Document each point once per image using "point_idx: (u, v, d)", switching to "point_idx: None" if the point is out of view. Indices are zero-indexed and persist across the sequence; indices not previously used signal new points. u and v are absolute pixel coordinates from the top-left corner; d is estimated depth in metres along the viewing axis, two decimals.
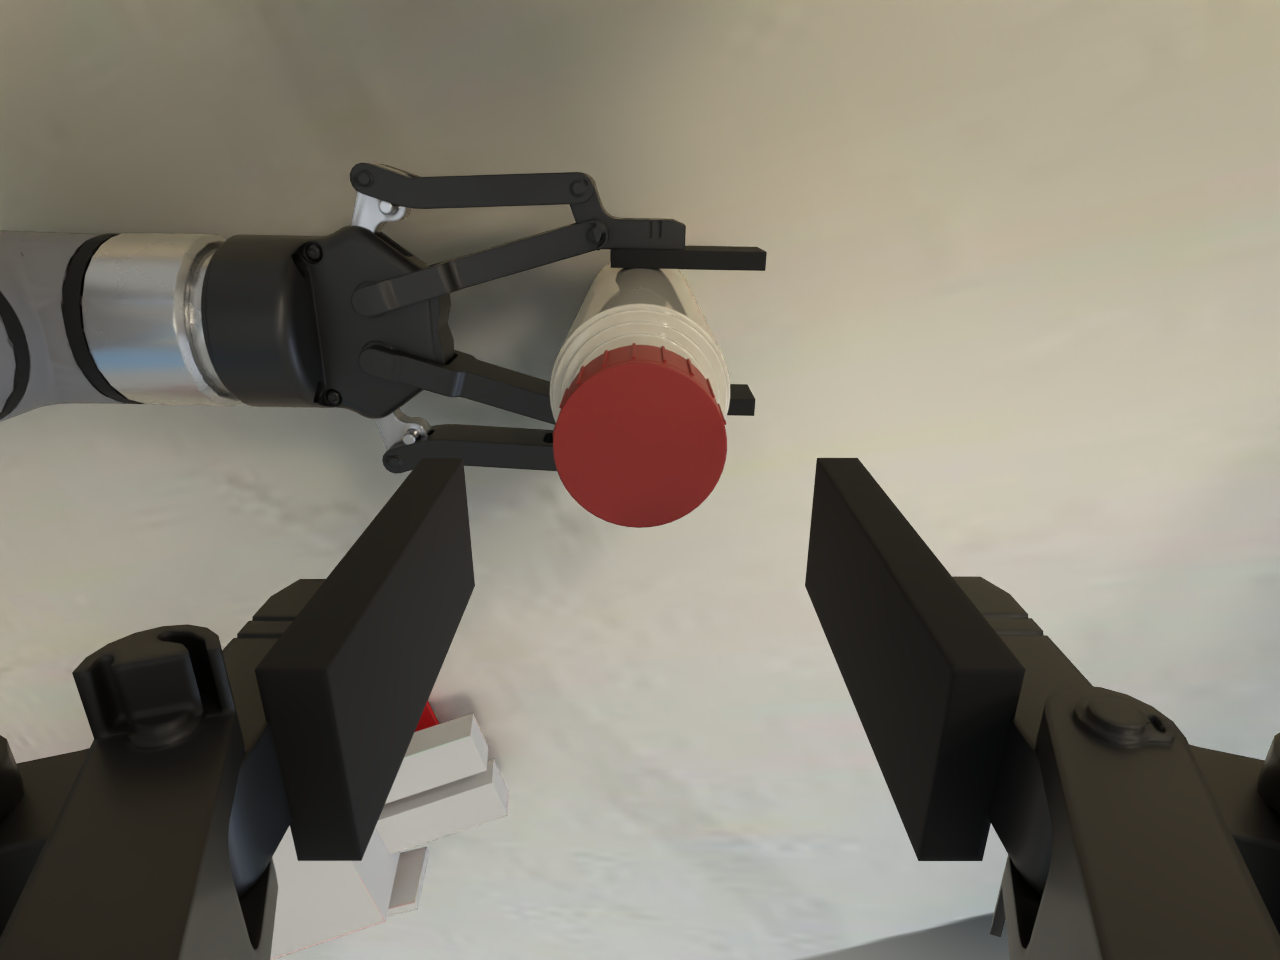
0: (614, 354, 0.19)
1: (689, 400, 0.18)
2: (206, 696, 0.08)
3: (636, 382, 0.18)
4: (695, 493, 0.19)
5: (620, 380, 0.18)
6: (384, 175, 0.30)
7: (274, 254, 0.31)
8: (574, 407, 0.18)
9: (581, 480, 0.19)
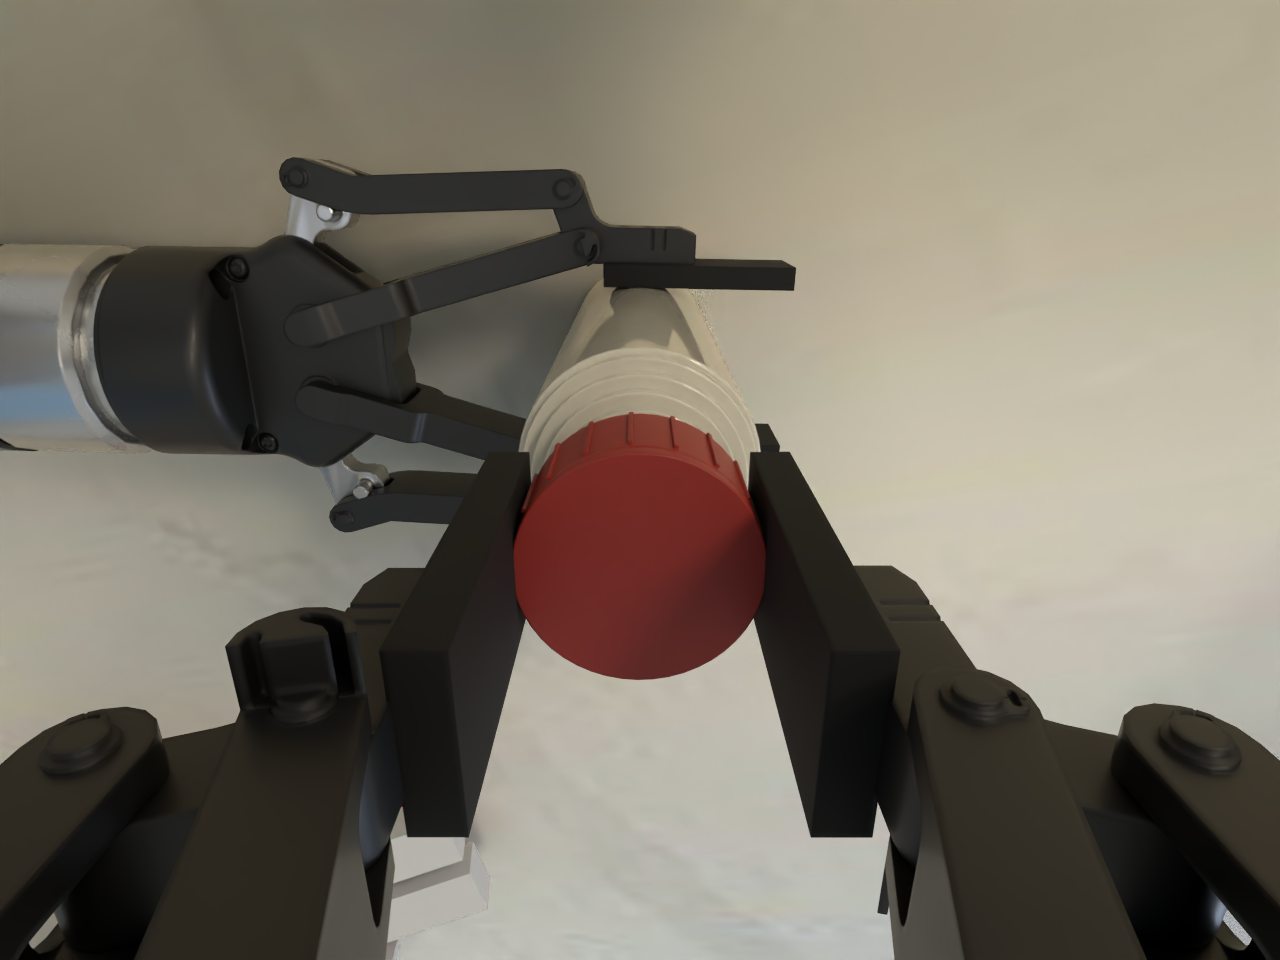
0: (602, 431, 0.13)
1: (713, 506, 0.12)
2: (340, 676, 0.08)
3: (634, 480, 0.12)
4: (720, 634, 0.13)
5: (610, 477, 0.12)
6: (322, 173, 0.24)
7: (186, 271, 0.25)
8: (542, 516, 0.12)
9: (554, 616, 0.13)
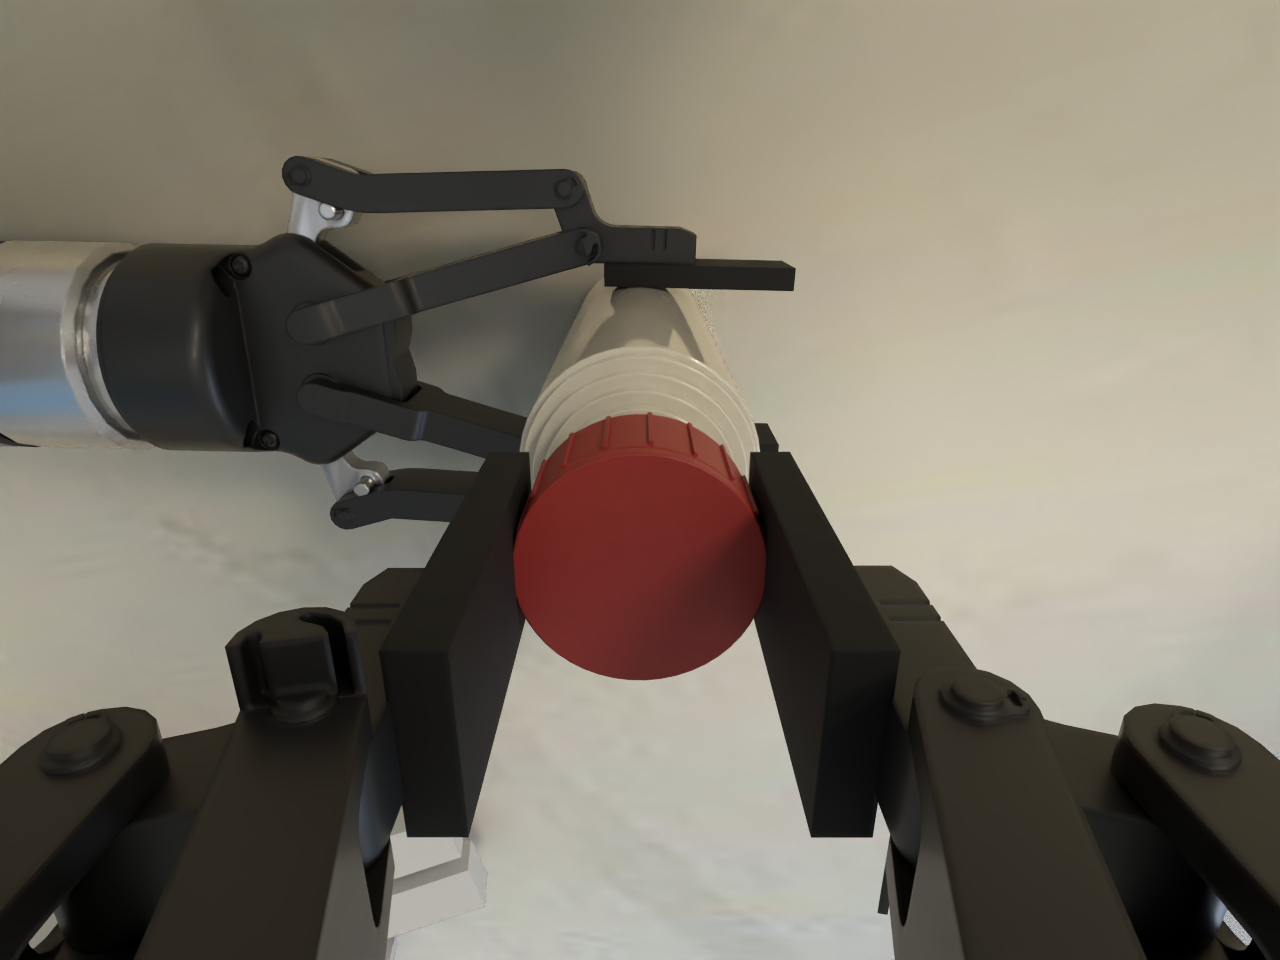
0: None
1: (536, 570, 0.12)
2: (339, 677, 0.08)
3: (569, 634, 0.13)
4: (637, 472, 0.12)
5: (582, 649, 0.13)
6: (324, 171, 0.24)
7: (189, 268, 0.25)
8: (653, 669, 0.13)
9: (733, 603, 0.13)
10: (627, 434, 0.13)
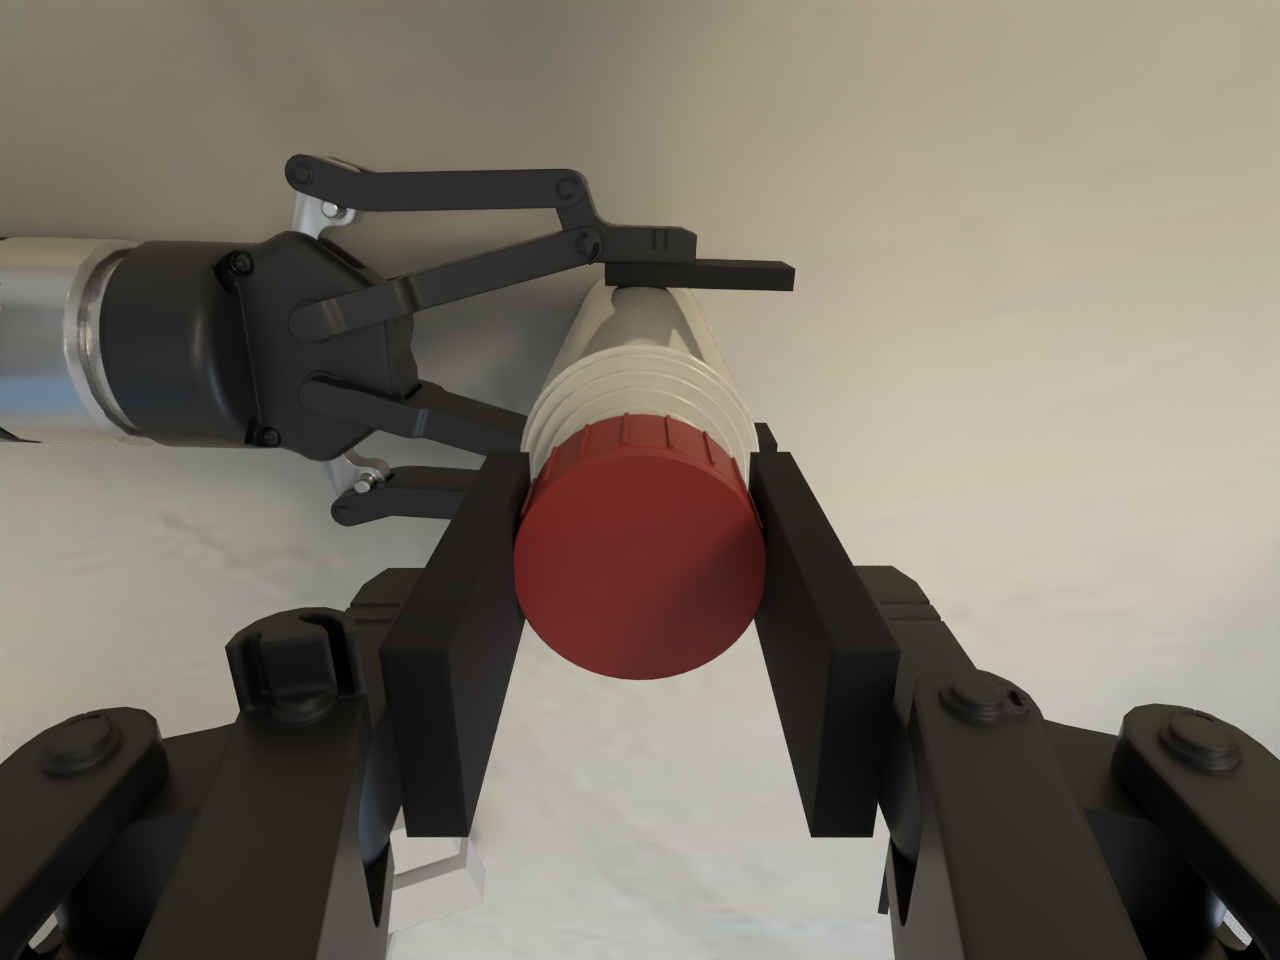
0: None
1: (701, 642, 0.13)
2: (339, 676, 0.08)
3: (739, 582, 0.13)
4: (561, 636, 0.13)
5: (746, 562, 0.12)
6: (327, 170, 0.25)
7: (192, 266, 0.25)
8: (718, 496, 0.12)
9: (600, 487, 0.12)
10: None
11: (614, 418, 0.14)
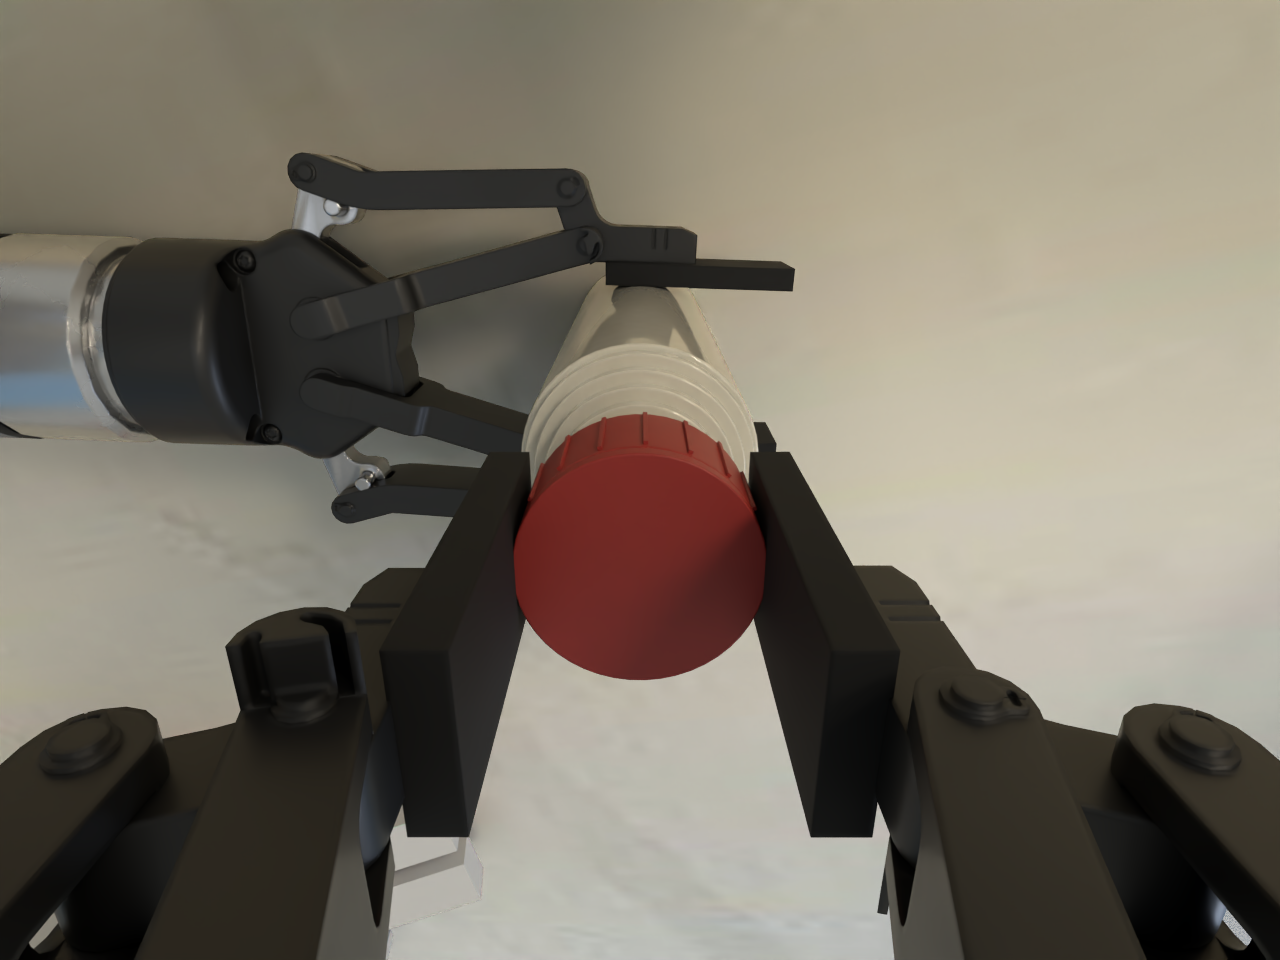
0: (546, 468, 0.13)
1: (659, 480, 0.12)
2: (340, 677, 0.08)
3: (577, 500, 0.12)
4: (747, 585, 0.13)
5: (556, 509, 0.12)
6: (330, 168, 0.25)
7: (194, 263, 0.25)
8: (525, 573, 0.13)
9: (596, 650, 0.13)
10: None
11: None
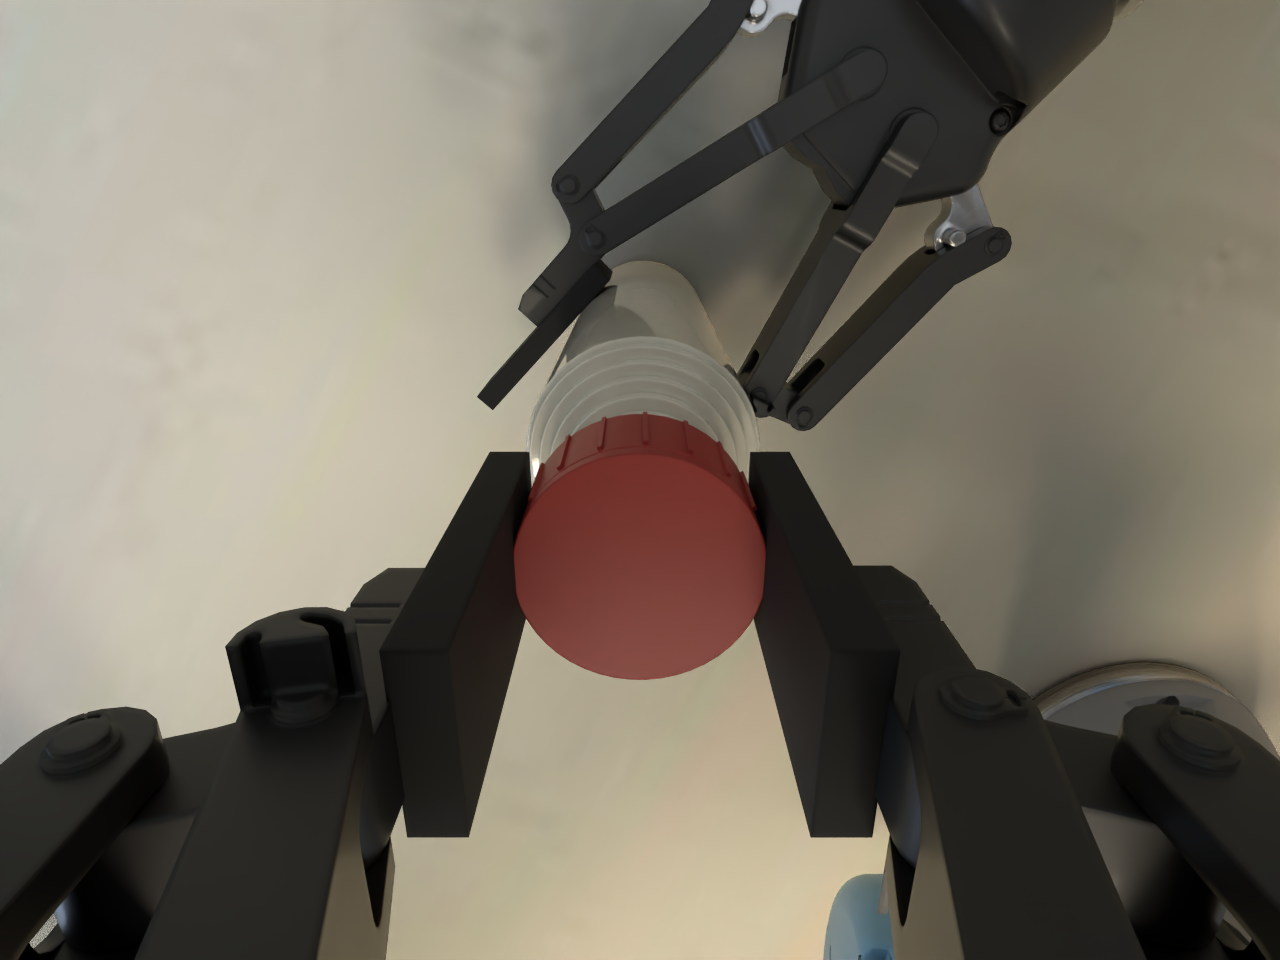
0: (546, 468, 0.13)
1: (659, 480, 0.12)
2: (340, 676, 0.08)
3: (577, 499, 0.12)
4: (747, 585, 0.13)
5: (557, 509, 0.12)
6: (977, 265, 0.26)
7: (1046, 88, 0.23)
8: (526, 573, 0.13)
9: (596, 649, 0.13)
10: None
11: None
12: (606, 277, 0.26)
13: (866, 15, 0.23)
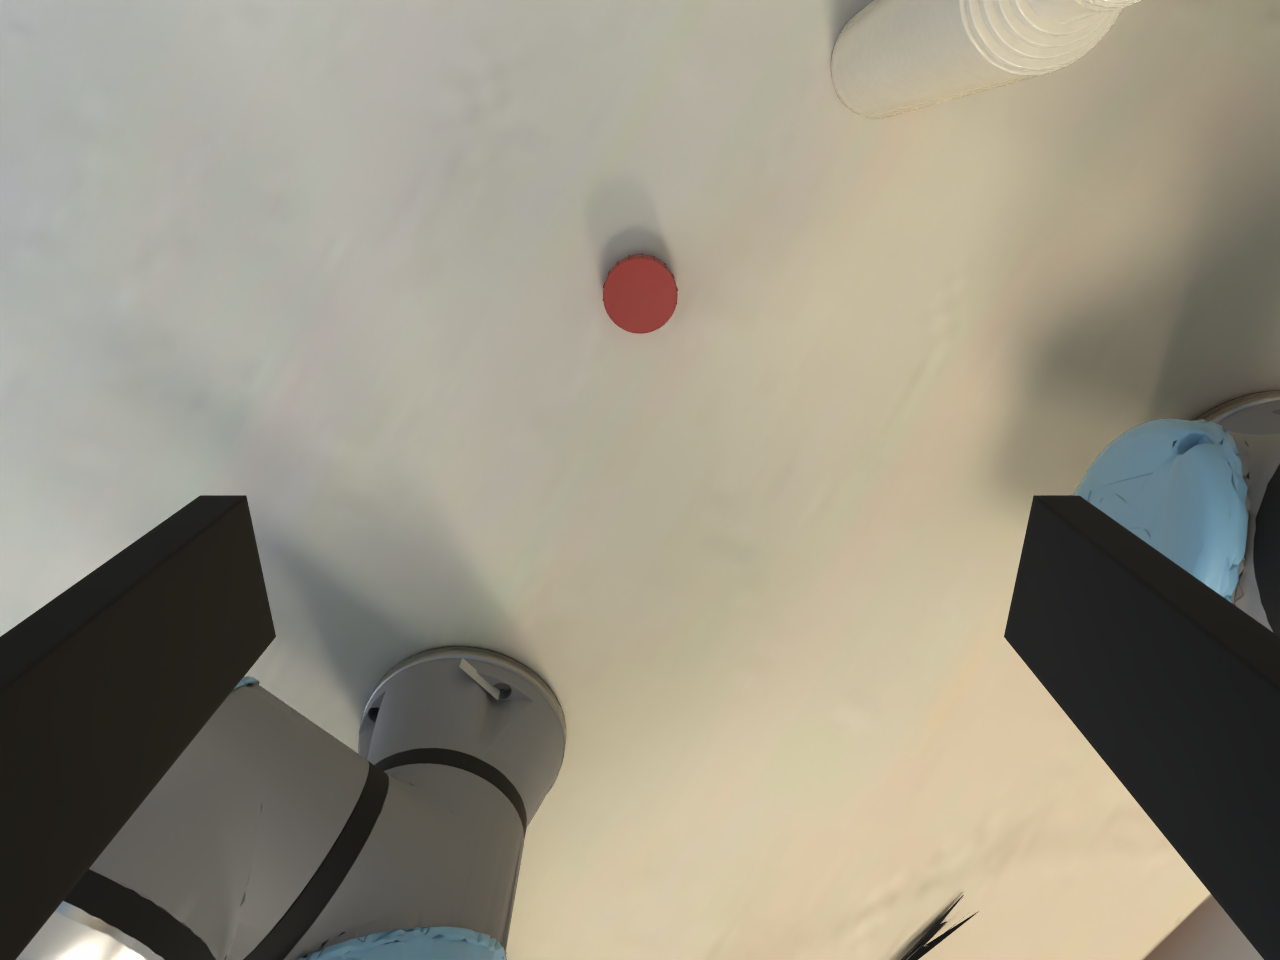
0: (612, 269, 0.44)
1: (645, 266, 0.43)
2: None
3: (622, 272, 0.43)
4: (671, 300, 0.43)
5: (616, 275, 0.43)
6: None
7: None
8: (607, 296, 0.43)
9: (627, 322, 0.44)
10: None
11: None
12: None
13: None
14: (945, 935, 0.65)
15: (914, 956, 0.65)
